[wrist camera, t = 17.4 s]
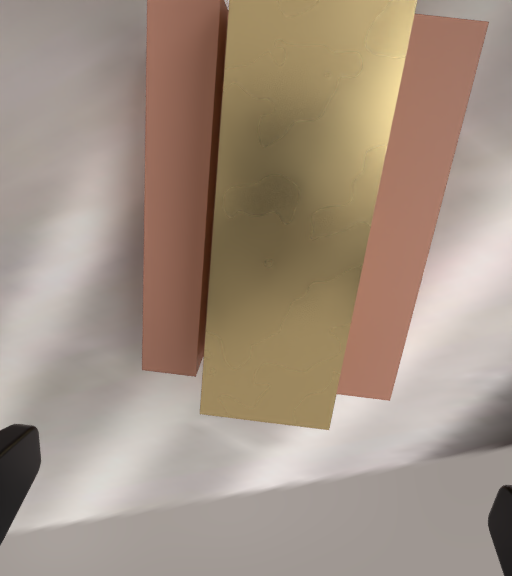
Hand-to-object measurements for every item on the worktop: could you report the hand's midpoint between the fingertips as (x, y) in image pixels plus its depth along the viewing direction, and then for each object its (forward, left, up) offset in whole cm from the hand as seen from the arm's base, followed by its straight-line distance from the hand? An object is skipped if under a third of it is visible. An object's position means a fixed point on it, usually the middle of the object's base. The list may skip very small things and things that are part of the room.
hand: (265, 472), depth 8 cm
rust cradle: (0, -4, -10) cm, 11 cm away
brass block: (0, -4, -8) cm, 9 cm away
